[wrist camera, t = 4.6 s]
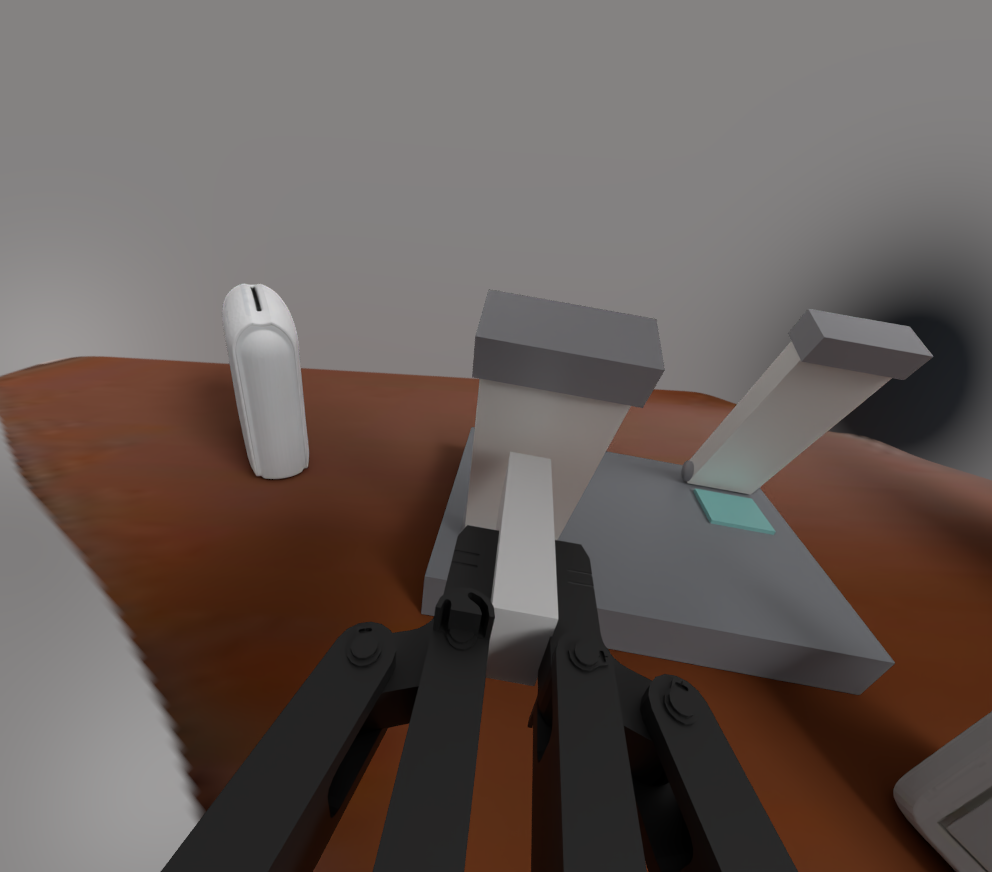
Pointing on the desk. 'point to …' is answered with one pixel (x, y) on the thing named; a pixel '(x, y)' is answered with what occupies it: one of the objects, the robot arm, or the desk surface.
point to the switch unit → (698, 578)
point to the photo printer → (266, 380)
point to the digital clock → (954, 799)
